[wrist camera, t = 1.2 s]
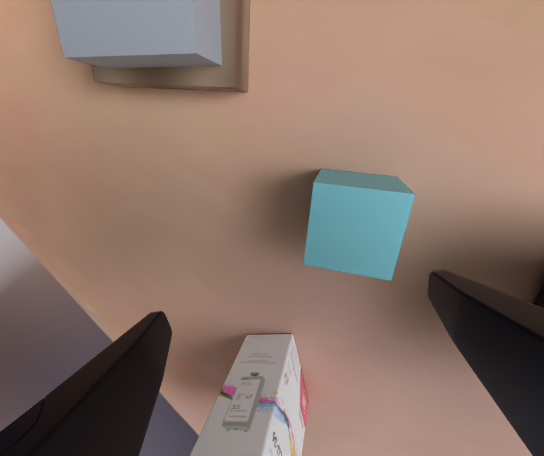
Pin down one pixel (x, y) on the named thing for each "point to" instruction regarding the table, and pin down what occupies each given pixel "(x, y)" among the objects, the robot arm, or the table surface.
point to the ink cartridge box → (259, 403)
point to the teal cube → (357, 222)
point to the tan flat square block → (197, 77)
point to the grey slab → (140, 32)
